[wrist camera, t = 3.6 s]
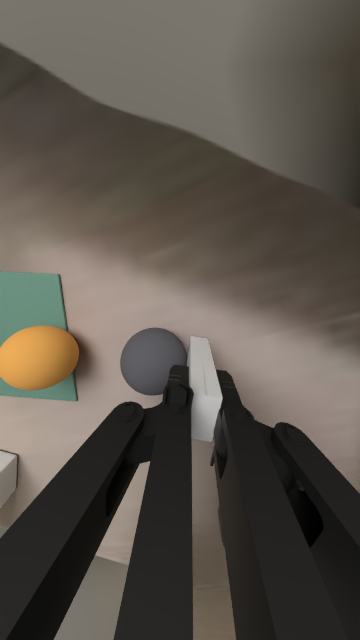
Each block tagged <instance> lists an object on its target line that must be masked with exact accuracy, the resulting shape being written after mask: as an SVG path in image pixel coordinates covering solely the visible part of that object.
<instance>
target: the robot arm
mask: <svg viewBox="0 0 360 640" xmlns="http://www.w3.org/2000/svg"><path fill="white" fill-rule="evenodd" d="M213 435H214V439H215V446H214V450H213V454H212V458H211V465H210V466H213V464H214V463H215V472H216V480H217V488H218V496H219V504H220V505H219V510H218V514H219V522H220V530H221V537H222V542H223V545H224V548H225V552H226V560H227V568H228V576H229V584H230V592H231V600H232V608H233V616H234V624H235V632H236V640H360V494H359V493H358V492H357V490H356V489H355V488H354V487H353V486H352V485H351V484H350V483H349V482H348V481H347V480H346V478H345V477H344V476H343V475H342V474H341V473H340V472H339V471H338V470H337V469H336V467H335V466H334V465H333V464H332V463H331V462H330V461H329V460H328V459H327V458H326V457H325V455H324V454H323V453H322V452H321V451H320V450H319V449H318V448H317V447H316V446H315V445H314V443H313V442H312V441H311V440H310V439H309V438H308V437H307V436H306V435H305V434H304V433H303V432H302V431H301V430H299V429H298V428H296V427H295V426H293V425H290V424H288V423H283V422H280V423H277V424H276V425H275V427H274V428H272V427H269V426H267V425H264V424H262V423H260V422H258V421H256V420H254V417H253V416H252V414H251V413H250V412H249V411H248V410H247V409H246V408H245V407H243V405H242V403H241V400H240V397H239V395H238V392H237V389H236V387H235V384H234V382H233V379H232V376H231V375H230V374H229V373H228V372H227V371H222V370H216V369H215V365H214V361H213V357H212V353H211V349H210V345H209V341H208V338H200V337H193V336H190V343H189V349H188V356H187V365H186V366H181V365H173V366H172V367H171V368H170V372H169V377H168V382H167V385H166V386H165V388H164V392H163V401H162V402H161V403H160V404H159V405H157V406H155V407H152V408H147V409H143V408H142V406H141V405H140V404H138V403H136V402H124V403H122V404H119V405H118V406H117V407H116V408H114V409H113V411H112V412H111V413H110V414H109V415H108V416H107V417H106V419H105V420H104V421H103V422H102V423H101V424H100V425H99V427H98V428H97V429H96V430H95V431H94V432H93V433H92V435H91V436H90V437H89V438H88V439H87V440H86V441H85V442H84V444H83V445H82V446H81V447H80V448H79V449H78V450H77V452H76V453H75V454H74V455H73V456H72V457H71V458H70V460H69V461H68V462H67V463H66V464H65V465H64V466H63V468H62V469H61V470H60V471H59V472H58V473H57V474H56V476H55V477H54V478H53V479H52V480H51V481H50V482H49V484H48V485H47V486H46V487H45V488H44V489H43V490H42V492H41V493H40V494H39V495H38V496H37V497H36V498H35V499H34V501H33V502H32V503H31V504H30V505H29V506H28V507H27V509H26V510H25V511H24V512H23V513H22V514H21V515H20V517H19V518H18V519H17V520H16V521H15V522H14V523H13V525H12V526H11V527H10V528H9V529H8V530H7V531H6V533H5V534H4V535H3V536H2V537H1V538H0V640H54V638H55V636H56V633H57V631H58V629H59V627H60V625H61V623H62V621H63V619H64V617H65V615H66V613H67V611H68V609H69V607H70V605H71V603H72V601H73V598H74V597H75V595H76V593H77V591H78V589H79V587H80V584H81V582H82V580H83V578H84V576H85V574H86V572H87V570H88V568H89V566H90V564H91V562H92V560H93V558H94V556H95V554H96V552H97V550H98V548H99V546H100V544H101V542H102V540H103V537H104V535H105V533H106V531H107V529H108V527H109V525H110V523H111V521H112V519H113V517H114V515H115V513H116V511H117V509H118V507H119V505H120V503H121V501H122V499H123V497H124V495H125V493H126V490H127V488H128V486H129V484H130V482H131V480H132V478H133V476H134V474H135V472H136V470H137V468H138V466H139V464H140V463H144V462H148V461H150V466H149V471H148V475H147V480H146V485H145V490H144V495H143V500H142V505H141V509H140V514H139V519H138V524H137V529H136V534H135V538H134V543H133V548H132V553H131V558H130V563H129V568H128V572H127V578H126V582H125V587H124V592H123V597H122V602H121V606H120V611H119V617H118V621H117V626H116V631H115V636H114V640H193V581H192V446H191V439H194V440H201V441H208V442H212V439H213Z"/></svg>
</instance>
